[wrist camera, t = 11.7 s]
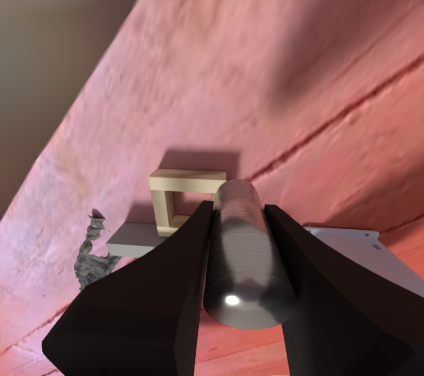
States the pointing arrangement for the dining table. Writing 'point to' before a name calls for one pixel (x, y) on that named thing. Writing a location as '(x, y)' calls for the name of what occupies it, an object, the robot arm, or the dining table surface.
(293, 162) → the dining table surface
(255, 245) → the dowel
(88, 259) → the driftwood
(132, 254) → the backstop wall
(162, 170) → the socket block
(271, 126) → the dining table surface
